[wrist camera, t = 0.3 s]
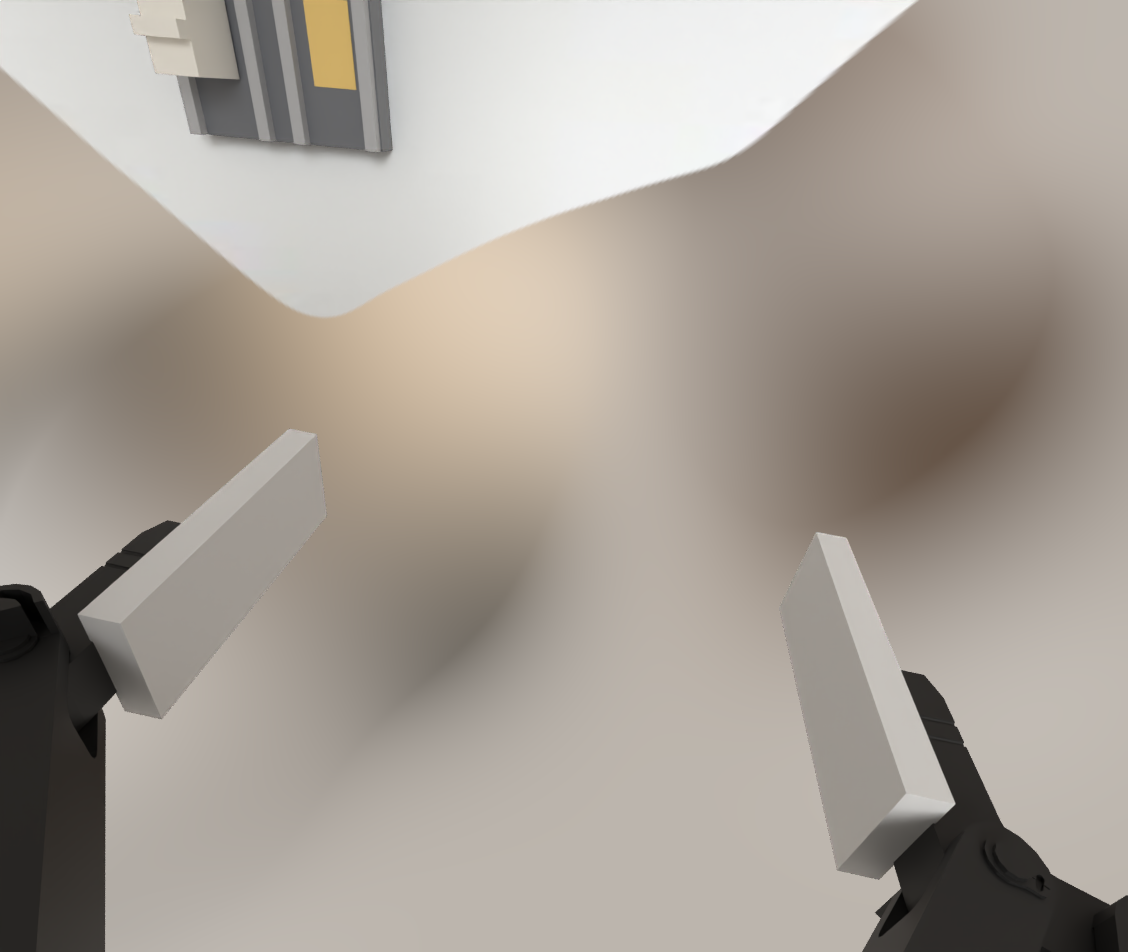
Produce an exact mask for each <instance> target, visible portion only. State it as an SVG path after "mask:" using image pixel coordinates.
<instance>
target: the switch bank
mask: <svg viewBox="0 0 1128 952" xmlns="http://www.w3.org/2000/svg"><path fill="white" fill-rule="evenodd" d="M224 1H225V7H226V12H227V17H228V22H229V27H230V32H231V38H232V43H233V48H234V53H235V58H236V63H237V69H238V74H239V79H221V78H202V77H190V76H179V75H177V79H178V83H179V88H180V92H181V96H182V100H183V104H184V108H185V112H186V116H187V121H188V125H189V129H190V133H191V134H199V135H205V134H210V135H220V136H230V137H240V138H250V139H259V140H260V141H269V142H272V141H280V142H290V143H294V144H299V145H320V146H330V147H340V148H350V149H360V150H365V151H369V152H384V151H390V150H392V139H391V126H390V113H389V100H388V87H387V74H386V62H385V49H384V36H383V23H382V10H381V0H224Z"/></svg>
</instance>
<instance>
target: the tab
mask: <svg viewBox="0 0 1128 952" xmlns="http://www.w3.org/2000/svg"><path fill="white" fill-rule="evenodd" d="M137 4H138V7H139V11H140V15H130V14H129V17H130V21H131V25H132V28H133V32H134V34H135V35H143V36H146V38H147V42H148V46H149V50H150V54H151V58H152V62H153V66H154V69H155V73H157V74H168V75H179V76H190V77H202V78H221V79H239V74H238V69H237V63H236V58H235V53H234V48H233V43H232V38H231V32H230V27H229V22H228V17H227V12H226V7H225V1H224V0H137Z"/></svg>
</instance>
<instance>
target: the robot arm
mask: <svg viewBox="0 0 1128 952" xmlns="http://www.w3.org/2000/svg"><path fill="white" fill-rule="evenodd" d="M326 516H327V512H326V505H325V496H324V488H323V479H322V471H321V463H320V455H319V447H318V439H317V434H314V433H309V432H304V431H298V430H294V429H288V430H287V431H286V432H285V433H284V434H282V436H280V437H279V438H278V439H277V440H276V441H275V442H273V443H272V444H271V445H270V446H269V447H268V448H266V449H265V450H264V451H263V452H262V453H261V454H260V455H259V456H257V457H256V458H255V459H254V460H253V461H252V462H251V463H249V464H248V465H247V466H246V467H245V468H244V469H243V470H241V471H240V472H239V473H238V474H237V475H236V476H235V477H233V478H232V479H231V480H230V481H229V482H228V483H227V484H225V485H224V486H223V487H222V488H221V489H220V490H219V491H218V492H216V493H215V494H214V495H213V496H212V497H211V498H209V499H208V500H207V501H206V502H205V503H204V504H203V505H202V506H200V507H199V508H198V509H197V510H196V511H195V512H194V513H192V515H190V516H189V517H188V518H187V519H186V520H184V521H183V522H182V523H177V522H173V521H165V522H163V523H161V524H159V525H157V526H155V527H153V528H151V529H149V530H146V531H144V532H142V533H141V534H140V535H138V536H137V537H136V538H135V539H133V540H132V541H131V542H130V543H129V544H128V545H126V546H125V547H124V548H123V549H122V552H121V553H117V554H116V555H114V556H113V557H112V558H111V559H109V560H108V561H107V562H106V565H105V566H101V567H100V568H99V569H97V570H96V571H95V572H94V573H92V574H91V575H90V576H89V577H88V578H86V579H85V580H84V581H83V582H82V583H81V584H79V585H78V586H77V587H76V588H74V589H73V590H72V591H71V592H70V593H68V594H67V595H66V596H65V597H64V598H62V599H61V600H60V601H59V602H58V603H56V604H55V605H54V606H53V607H52V608H49V607H48V605H47V603H46V601H45V599H44V597H43V595H42V593H41V591H39V590H37V589H36V588H34V587H32V586H29V585H21V584H11V585H3V586H0V952H105V746H106V744H105V740H106V739H105V738H106V736H105V735H106V731H105V730H106V724H105V723H106V719H105V716H104V713H103V710H102V707H103V706H104V705H105V704H106V703H107V702H108V701H109V700H110V698H111V697H112V696H113V695H114V694H115V693H116V694H117V696H118V698H119V700H120V702H121V704H122V706H123V708H124V710H125V711H127V712H131V713H136V714H140V715H145V716H150V717H154V718H158V719H162V718H163V717H164V716H165V715H166V714H167V712H168V711H169V710H170V709H171V707H172V706H173V705H174V704H175V703H176V701H177V700H178V699H179V698H180V696H181V695H182V694H183V693H184V691H185V690H186V689H187V688H188V686H189V685H190V684H191V683H192V681H193V680H194V679H195V678H196V677H197V675H198V674H199V673H200V672H201V670H202V669H203V668H204V667H205V666H206V664H207V663H208V662H209V661H210V659H211V658H212V657H213V656H214V654H215V653H216V652H217V651H218V649H219V648H220V647H221V646H222V645H223V643H224V642H225V641H226V640H227V638H228V637H229V636H230V635H231V633H232V632H233V631H234V630H235V628H236V627H237V626H238V625H239V624H240V622H241V621H242V620H243V619H244V617H245V616H246V615H247V614H248V612H249V611H250V610H251V609H252V608H253V606H254V605H255V604H256V603H257V601H258V600H259V599H260V598H261V596H262V595H263V594H264V593H265V592H266V590H267V589H268V588H269V587H270V585H271V584H272V583H273V582H274V580H275V579H276V578H277V576H279V574H280V573H281V572H282V571H283V569H284V568H285V567H286V566H287V565H288V563H289V562H290V561H291V560H292V558H293V557H294V556H295V555H296V553H297V552H298V551H299V550H300V548H301V547H302V546H303V545H304V544H305V542H306V541H307V540H308V538H309V537H310V536H311V535H312V534H313V532H314V531H315V530H316V529H317V527H318V526H319V525H320V524H321V523H322V521H323V520H324V519H325V518H326ZM779 609H780V614H781V618H782V623H783V628H784V632H785V637H786V641H787V646H788V650H789V655H790V659H791V664H792V669H793V673H794V678H795V682H796V686H797V691H798V696H799V700H800V705H801V709H802V714H803V718H804V723H805V727H806V732H807V736H808V741H809V745H810V750H811V754H812V759H813V763H814V768H815V773H816V777H817V781H818V786H819V791H820V795H821V799H822V804H823V809H824V813H825V818H826V822H827V827H828V831H829V836H830V840H831V845H832V849H833V854H834V858H835V863H836V868H837V870H838V871H842V872H847V873H851V874H856V875H860V876H865V877H869V878H874V879H878V880H879V879H880V878H881V877H882V876H883V875H884V874H885V873H886V872H887V871H888V870H889V869H890V868H891V867H892V866H893V865H894V866H895V870H896V873H897V876H898V880H899V883H900V887H901V889H900V890H899V891H898V892H897V893H896V894H895V895H894V896H893V897H892V898H890V899H889V900H888V901H887V902H886V903H885V904H884V905H883V906H882V907H881V908H880V909H878V910H877V911H876V912H875V913H876V914H877V915H878V916H879V917H880V918H881V919H880V921H879V923H878V924H877V926H876V928H875V930H874V932H873V933H872V935H871V937H870V939H869V941H868V942H867V944H866V946H865V948H864V949H863V951H862V952H1128V896H1125V897H1123V898H1121V899H1120V900H1118V901H1117V902H1115V903H1113V904H1112V905H1109V904H1107V903H1105V902H1103V901H1101V900H1099V899H1097V898H1095V897H1093V896H1091V895H1089V894H1087V893H1085V892H1084V891H1081V890H1080V889H1078V888H1076V887H1074V886H1072V885H1070V884H1068V883H1066V882H1064V881H1062V880H1060V879H1058V878H1057V877H1055V876H1053V875H1052V874H1050V872H1049V869H1048V868H1047V867H1046V865H1045V864H1044V862H1043V861H1042V860H1041V858H1040V857H1039V855H1038V854H1037V853H1036V852H1035V851H1034V850H1033V849H1032V848H1031V847H1030V846H1029V845H1028V844H1027V843H1026V842H1025V841H1024V840H1023V839H1022V838H1020V837H1019V836H1018V835H1016V834H1014V833H1013V832H1011V831H1010V830H1008V829H1006V828H1005V827H1004V826H1003V825H1002V823H1001V821H1000V819H999V817H998V815H997V813H996V810H995V808H994V806H993V804H992V802H991V800H990V797H989V795H988V793H987V791H986V789H985V787H984V784H983V782H982V780H981V778H980V776H979V774H978V771H977V769H976V767H975V765H974V763H973V761H972V758H971V756H970V754H969V752H968V750H967V748H966V747H964V745H963V743H964V741H963V739H962V737H961V735H960V732H959V730H958V728H957V727H955V726H954V723H955V722H954V720H953V717H952V715H951V713H950V711H949V709H948V707H947V704H946V703H945V700H944V698H943V697H942V696H941V695H940V693H939V692H938V691H937V690H936V688H935V687H934V686H933V685H932V684H931V683H930V681H928V679H927V678H926V677H925V676H924V675H921V674H916V673H912V672H907V671H903V670H900V667H899V665H898V662H897V660H896V657H895V655H894V653H893V650H892V648H891V645H890V643H889V640H888V638H887V635H886V633H885V631H884V628H883V626H882V623H881V621H880V618H879V616H878V613H877V611H876V608H875V606H874V604H873V601H872V599H871V596H870V594H869V591H868V589H867V586H866V584H865V582H864V579H863V577H862V574H861V572H860V570H859V567H858V565H857V562H856V560H855V557H854V555H853V552H852V550H851V548H850V545H849V543H848V540H847V538H844V537H839V536H834V535H829V534H823V533H819V532H816V534H815V535H814V537H813V539H812V541H811V544H810V546H809V548H808V550H807V552H806V554H805V556H804V558H803V560H802V562H801V564H800V566H799V568H798V570H797V572H796V574H795V576H794V578H793V580H792V582H791V584H790V586H789V588H788V590H787V592H786V594H785V597H784V598H783V601H782V603H781V605H780V607H779Z"/></svg>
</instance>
